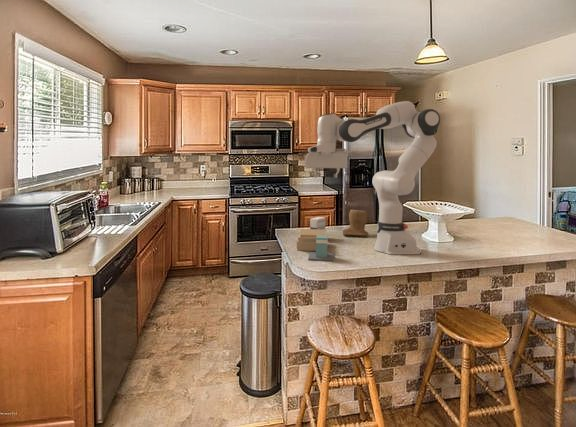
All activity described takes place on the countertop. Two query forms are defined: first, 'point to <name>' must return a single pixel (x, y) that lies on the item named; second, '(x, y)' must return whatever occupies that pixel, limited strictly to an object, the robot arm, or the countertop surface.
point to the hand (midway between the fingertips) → (325, 177)
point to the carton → (308, 239)
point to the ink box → (318, 223)
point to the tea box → (321, 246)
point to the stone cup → (356, 223)
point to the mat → (313, 257)
